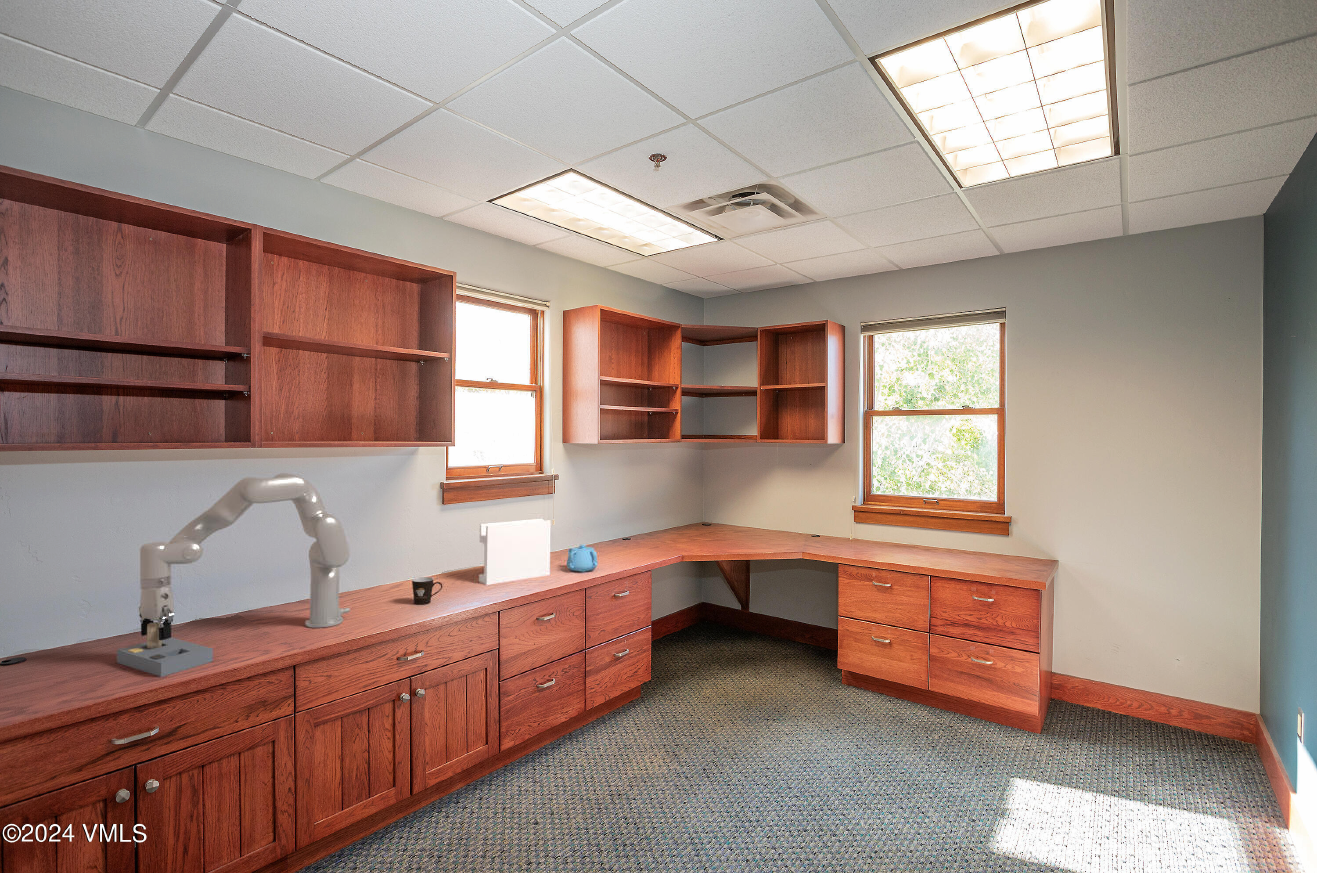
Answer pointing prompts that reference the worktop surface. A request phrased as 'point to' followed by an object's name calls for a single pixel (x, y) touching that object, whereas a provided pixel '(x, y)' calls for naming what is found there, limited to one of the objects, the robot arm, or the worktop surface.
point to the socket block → (165, 657)
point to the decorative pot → (582, 559)
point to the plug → (153, 636)
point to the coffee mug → (423, 590)
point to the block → (515, 550)
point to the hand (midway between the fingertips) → (156, 636)
